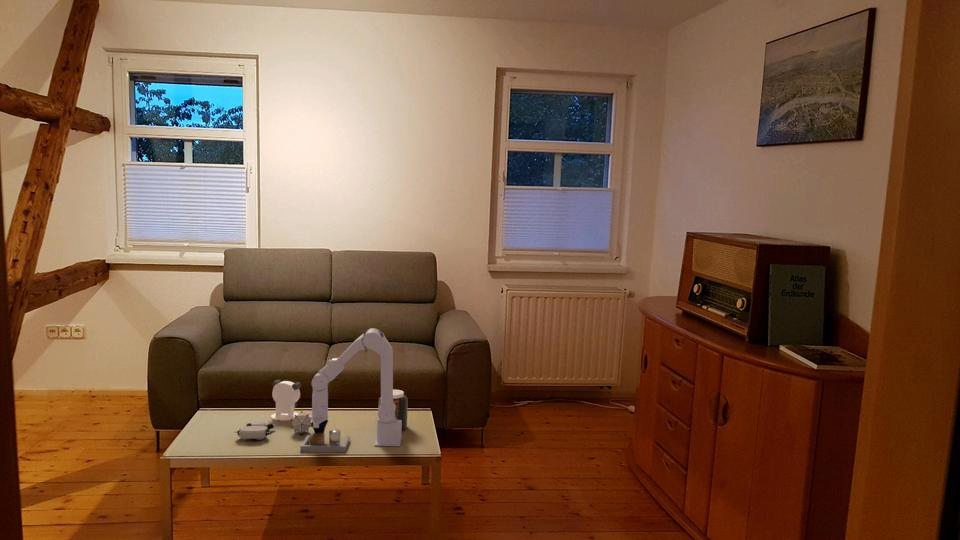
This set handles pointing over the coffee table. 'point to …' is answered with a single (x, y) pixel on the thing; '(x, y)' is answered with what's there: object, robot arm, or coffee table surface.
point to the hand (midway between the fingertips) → (319, 440)
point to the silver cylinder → (334, 437)
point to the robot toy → (255, 430)
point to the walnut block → (317, 439)
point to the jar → (400, 407)
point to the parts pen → (323, 446)
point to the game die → (301, 423)
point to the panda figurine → (285, 399)
